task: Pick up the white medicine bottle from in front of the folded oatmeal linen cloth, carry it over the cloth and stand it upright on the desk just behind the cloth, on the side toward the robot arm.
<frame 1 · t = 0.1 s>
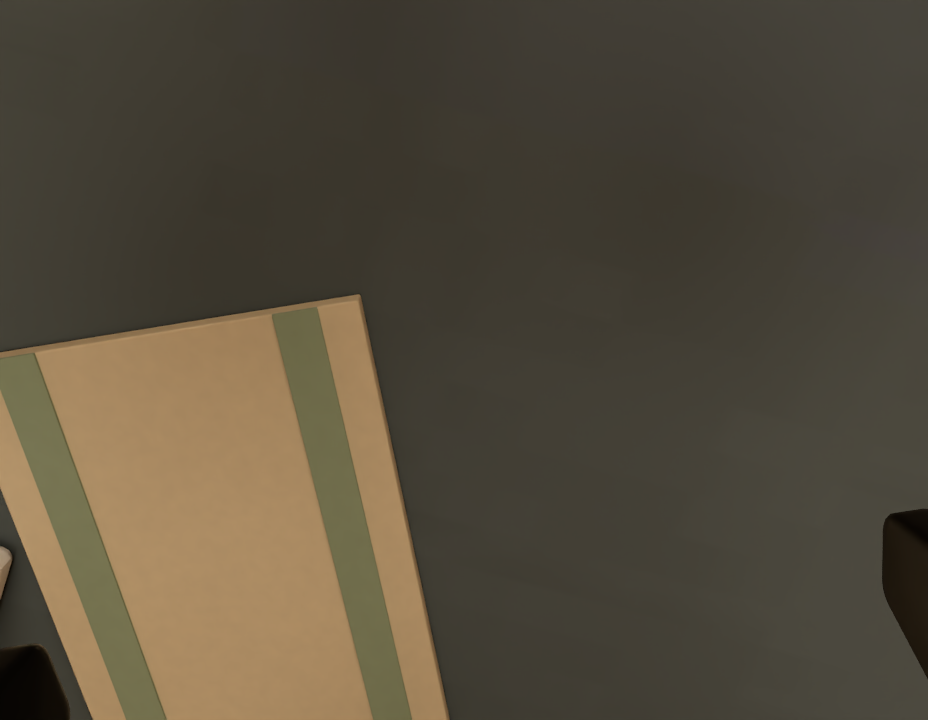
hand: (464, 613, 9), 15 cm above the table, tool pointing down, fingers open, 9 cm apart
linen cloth: (250, 627, 27), on the table
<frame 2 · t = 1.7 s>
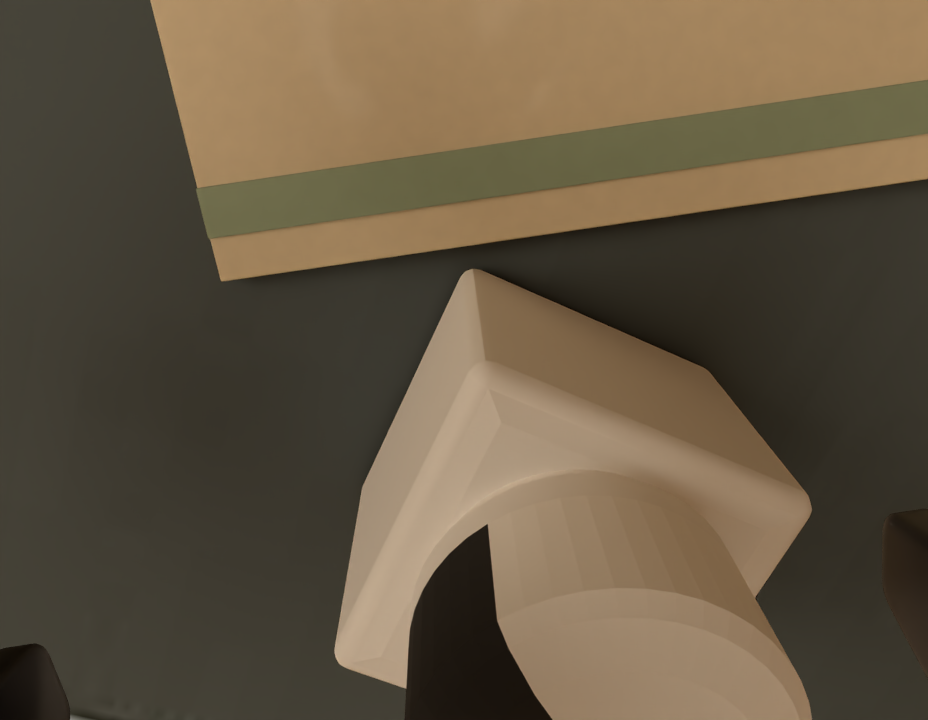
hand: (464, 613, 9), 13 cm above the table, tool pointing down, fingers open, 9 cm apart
medicine bottle: (530, 427, 23), on the table
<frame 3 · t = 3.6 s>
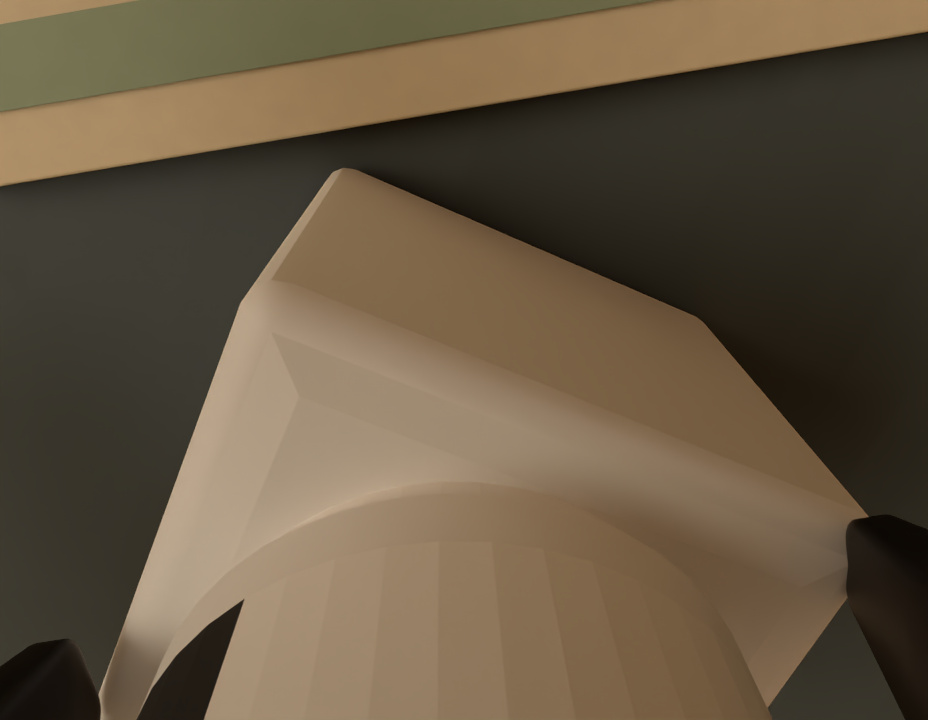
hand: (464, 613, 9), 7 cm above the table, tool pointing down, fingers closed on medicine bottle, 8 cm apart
medicine bottle: (448, 407, 16), on the table, touching gripper
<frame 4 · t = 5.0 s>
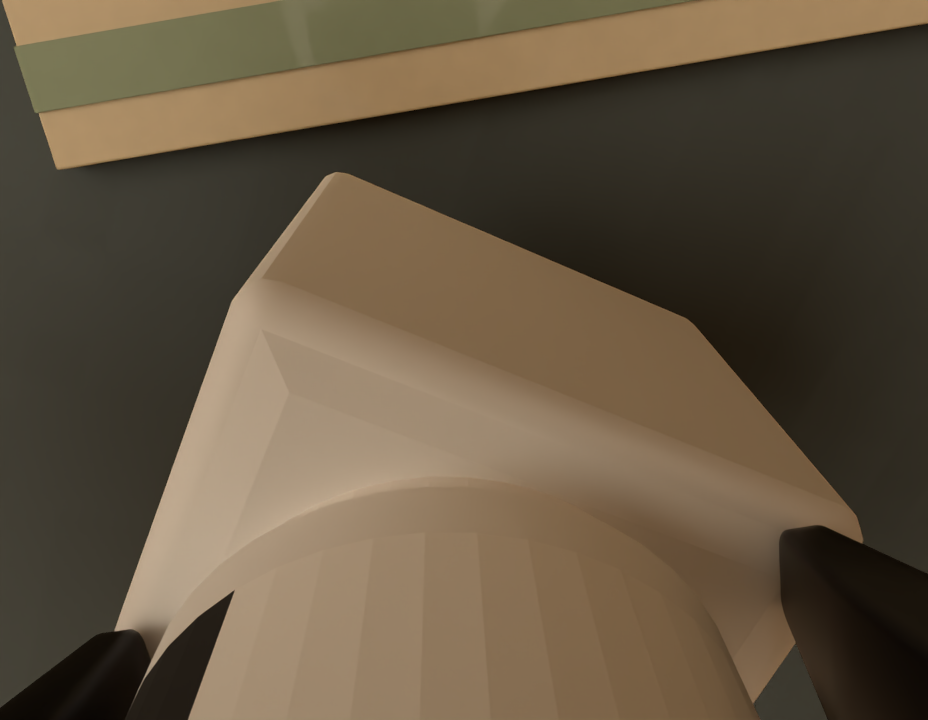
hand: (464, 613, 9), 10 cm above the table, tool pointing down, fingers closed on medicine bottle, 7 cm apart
medicine bottle: (441, 409, 16), point 3 cm above the table, touching gripper
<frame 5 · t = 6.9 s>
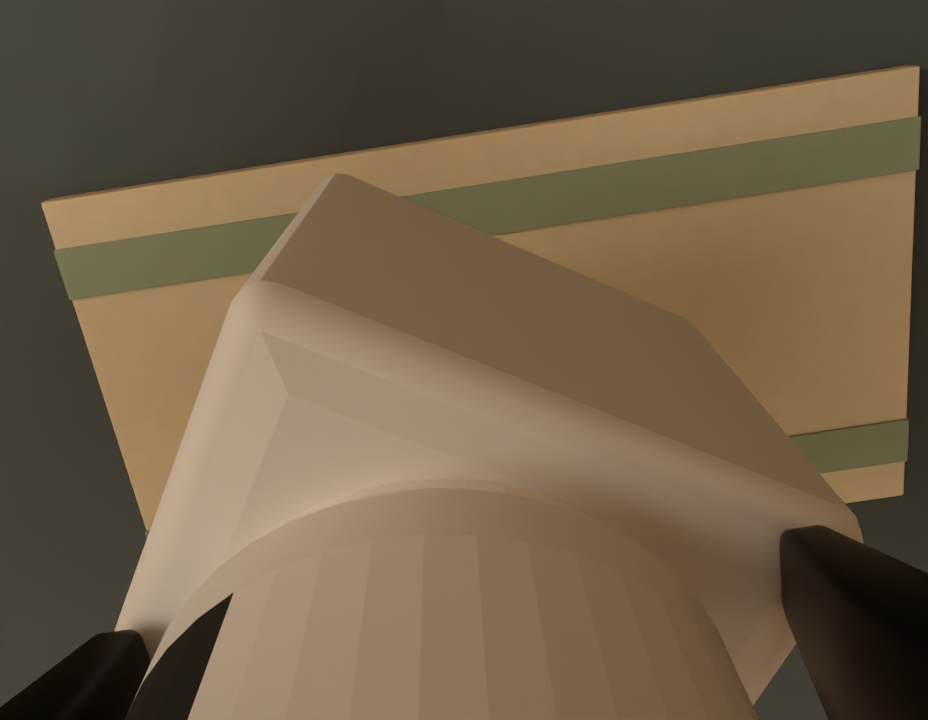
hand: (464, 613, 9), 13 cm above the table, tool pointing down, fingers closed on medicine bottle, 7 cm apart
medicine bottle: (441, 410, 16), point 5 cm above the table, touching gripper
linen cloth: (505, 352, 22), on the table
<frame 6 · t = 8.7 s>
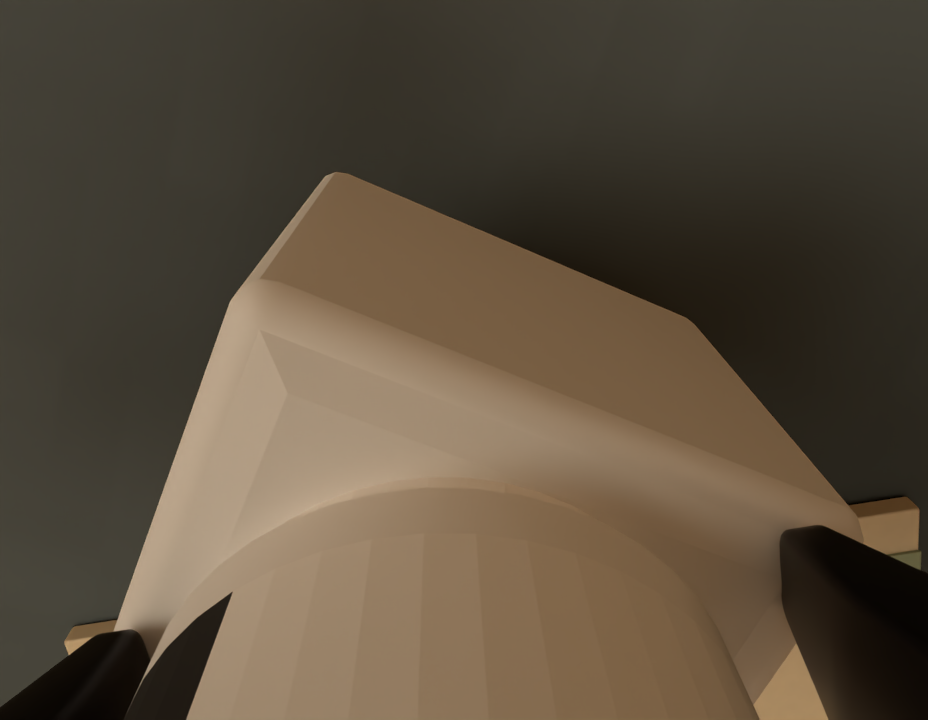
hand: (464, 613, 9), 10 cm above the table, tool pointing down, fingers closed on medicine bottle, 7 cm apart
medicine bottle: (441, 409, 16), point 2 cm above the table, touching gripper
when the fingers open (7 cm above the table, at t = 10.4 s): medicine bottle stays where it is, on the table.
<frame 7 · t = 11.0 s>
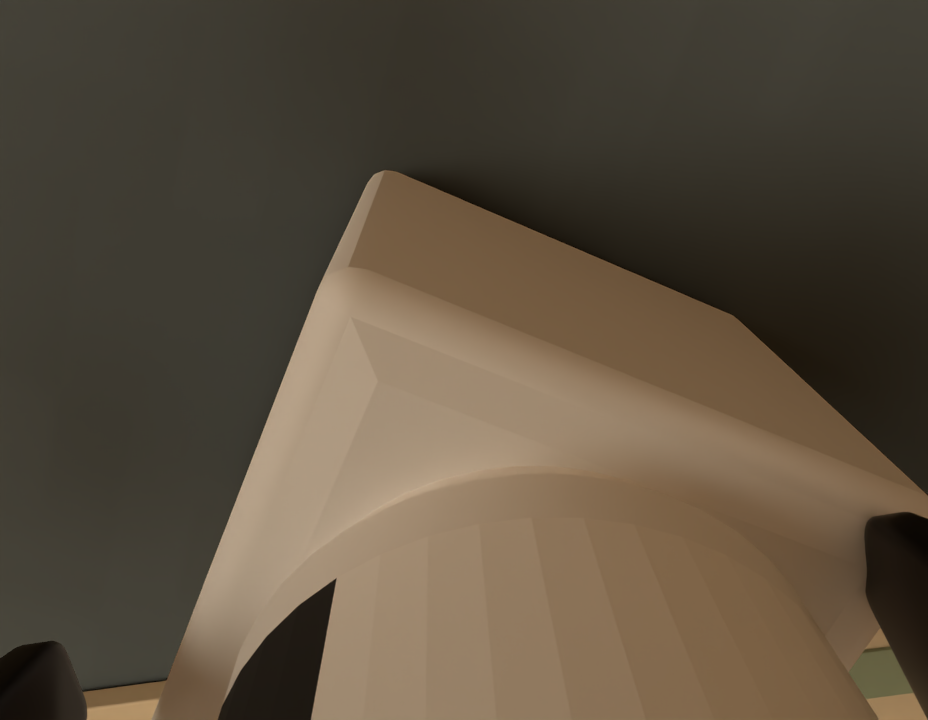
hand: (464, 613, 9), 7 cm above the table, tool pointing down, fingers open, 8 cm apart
medicine bottle: (484, 409, 16), on the table, touching gripper
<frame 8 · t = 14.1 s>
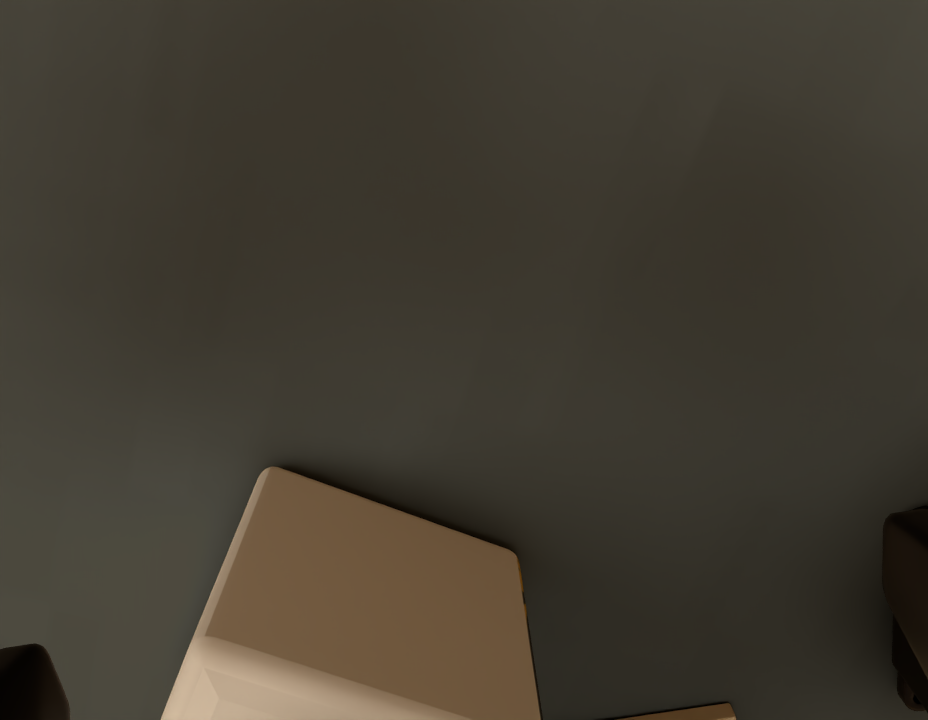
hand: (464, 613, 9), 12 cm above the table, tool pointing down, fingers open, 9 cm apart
medicine bottle: (349, 605, 24), on the table
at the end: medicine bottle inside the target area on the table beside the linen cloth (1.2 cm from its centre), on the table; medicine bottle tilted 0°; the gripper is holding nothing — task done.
